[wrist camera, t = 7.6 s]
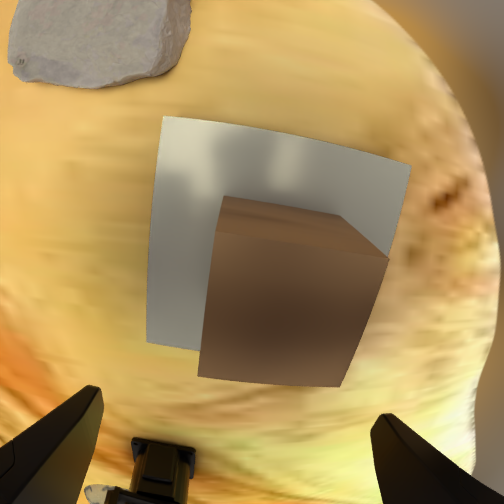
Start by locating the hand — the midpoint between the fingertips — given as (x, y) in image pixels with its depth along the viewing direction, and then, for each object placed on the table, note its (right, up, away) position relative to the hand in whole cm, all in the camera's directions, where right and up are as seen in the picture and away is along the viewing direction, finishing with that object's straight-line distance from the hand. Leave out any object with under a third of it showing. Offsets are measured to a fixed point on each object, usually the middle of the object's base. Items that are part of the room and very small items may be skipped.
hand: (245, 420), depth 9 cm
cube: (+1, +5, +8) cm, 9 cm away
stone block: (-9, +20, +6) cm, 22 cm away
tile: (+1, +6, +11) cm, 12 cm away
